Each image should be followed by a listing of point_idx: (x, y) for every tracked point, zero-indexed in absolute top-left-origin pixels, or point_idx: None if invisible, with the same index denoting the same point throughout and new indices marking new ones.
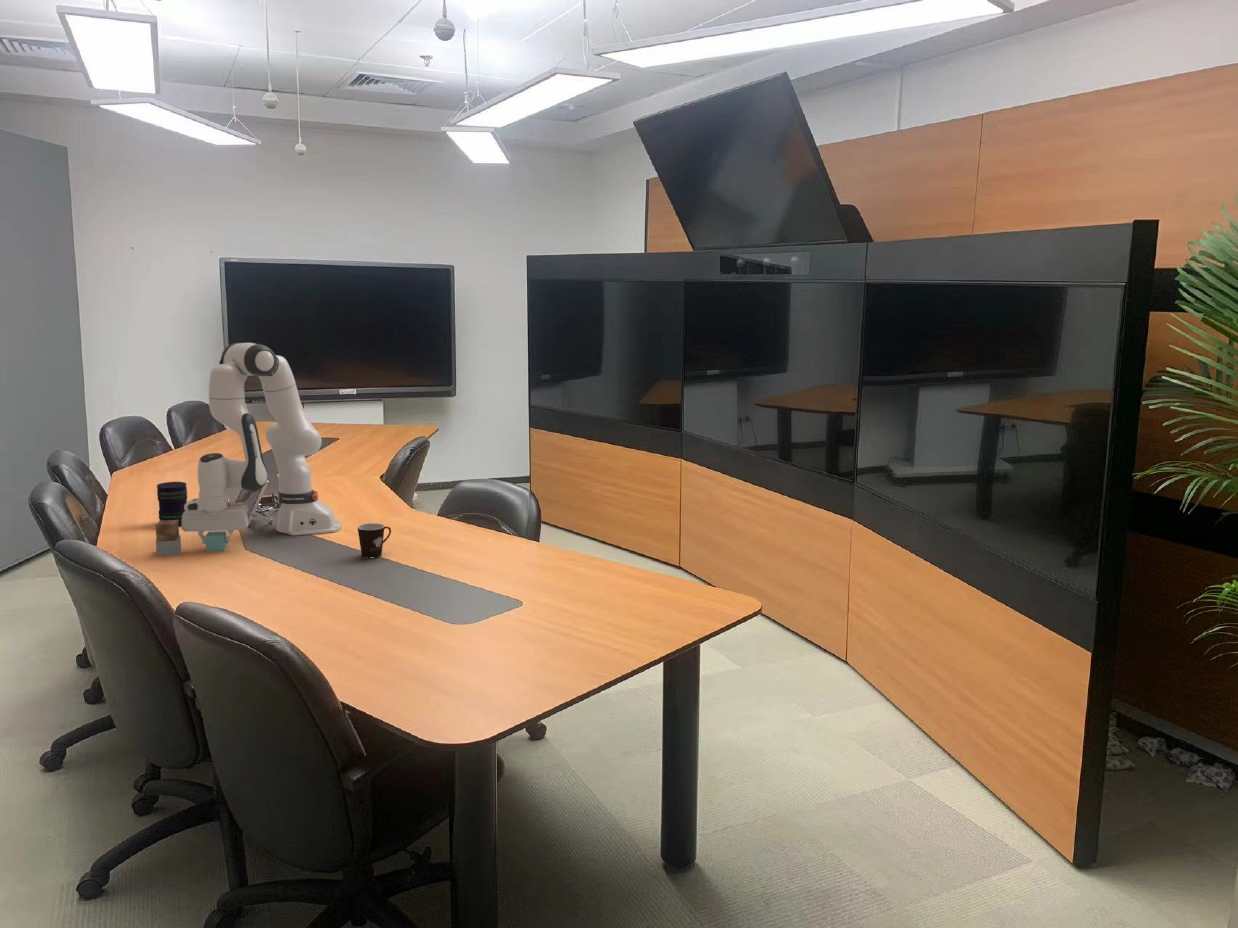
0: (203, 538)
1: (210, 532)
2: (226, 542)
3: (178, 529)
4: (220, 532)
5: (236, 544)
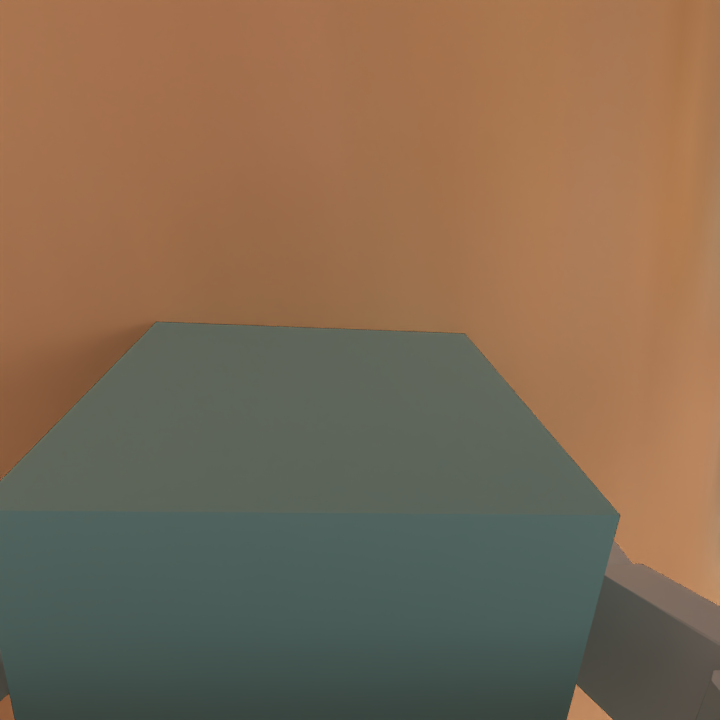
0: (3, 690)
1: (91, 627)
2: None
3: None
4: (435, 660)
5: (625, 209)
